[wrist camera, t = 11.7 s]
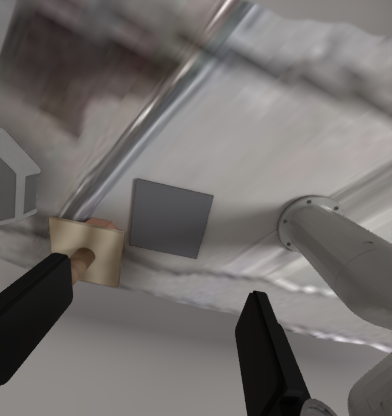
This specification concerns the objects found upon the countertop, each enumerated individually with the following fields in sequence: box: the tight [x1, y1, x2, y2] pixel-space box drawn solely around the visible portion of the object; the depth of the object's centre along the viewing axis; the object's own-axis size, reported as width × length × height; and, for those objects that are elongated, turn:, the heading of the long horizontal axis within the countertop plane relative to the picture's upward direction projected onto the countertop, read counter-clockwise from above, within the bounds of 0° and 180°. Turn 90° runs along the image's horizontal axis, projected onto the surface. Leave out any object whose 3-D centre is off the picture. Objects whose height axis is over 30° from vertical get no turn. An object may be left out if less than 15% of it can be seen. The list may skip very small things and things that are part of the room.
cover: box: [49, 216, 124, 287], centre depth 33 cm, size 13×13×7 cm
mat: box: [129, 179, 214, 259], centre depth 39 cm, size 15×15×1 cm
